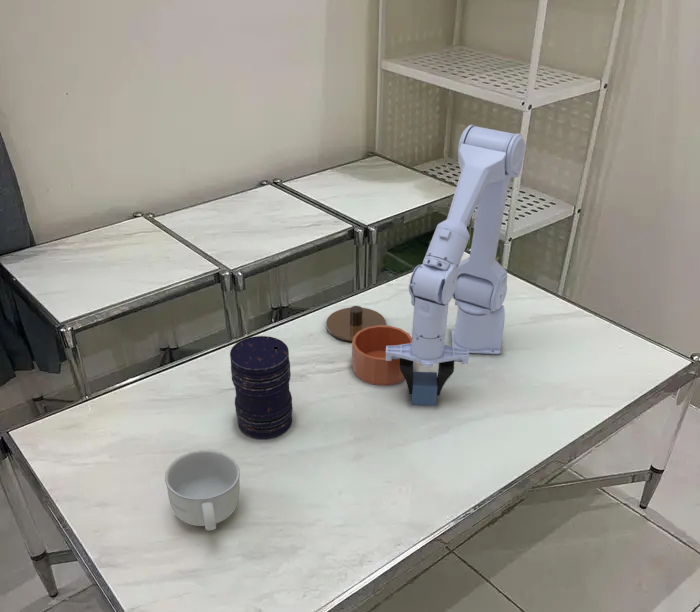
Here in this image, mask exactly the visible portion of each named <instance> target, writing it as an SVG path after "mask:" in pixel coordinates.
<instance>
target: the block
mask: <svg viewBox="0 0 700 612" xmlns="http://www.w3.org/2000/svg"><path fill="white" fill-rule="evenodd" d="M437 376H438V371H436V372H435V371H416V370H413V387H412V395H411V405H413V406H429V407H432V406H433V407H435V406H436V405H437V397H438V396H437V387H438V386H437Z"/></svg>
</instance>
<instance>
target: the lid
mask: <svg viewBox="0 0 700 612" xmlns="http://www.w3.org/2000/svg"><path fill="white" fill-rule="evenodd" d="M325 325H326V329H327V331H328V332H329V333H330V334H331V335H332V336H334V337H336V338H337V339H340V340H343V341H348V342H352V341H353V337H354V336H355V335H356V333H357V332H358V331H360V330H362V329H364V328H366V327H371V326H377V325H384V326H387V321H386V319H385V317H384V316H383V315H382V314H381V313H380V312H378V311H376V310H374V309H370V308H367V307H362V306H360V305H352V306H351V307H350V306H349V307H345V308H341V309H337V310H336V311H334V312H332V313H331V314H330V315H329V316H328V317H327V318H326V321H325Z"/></svg>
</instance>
